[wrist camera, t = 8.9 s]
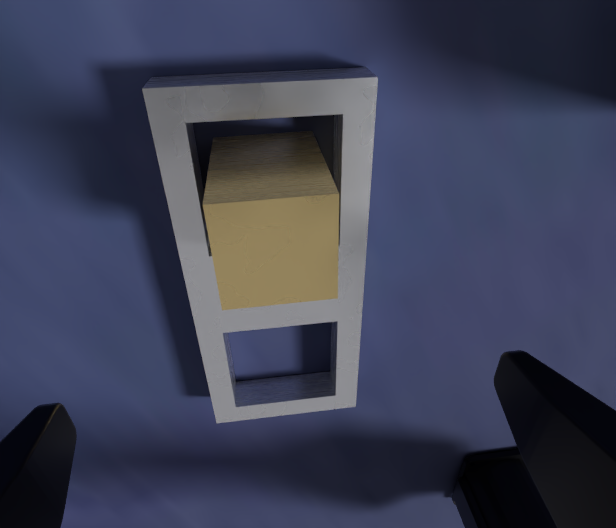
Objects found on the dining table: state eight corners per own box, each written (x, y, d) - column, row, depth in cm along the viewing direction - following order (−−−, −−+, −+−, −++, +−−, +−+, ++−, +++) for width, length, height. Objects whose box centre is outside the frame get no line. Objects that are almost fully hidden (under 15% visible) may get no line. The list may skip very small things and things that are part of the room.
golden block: (311, 130, 18) (339, 193, 13) (314, 216, 20) (337, 298, 15) (213, 137, 18) (202, 204, 13) (226, 224, 20) (221, 310, 15)
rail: (365, 67, 17) (378, 77, 15) (349, 382, 27) (355, 406, 25) (151, 77, 16) (141, 88, 14) (217, 397, 26) (216, 423, 25)
